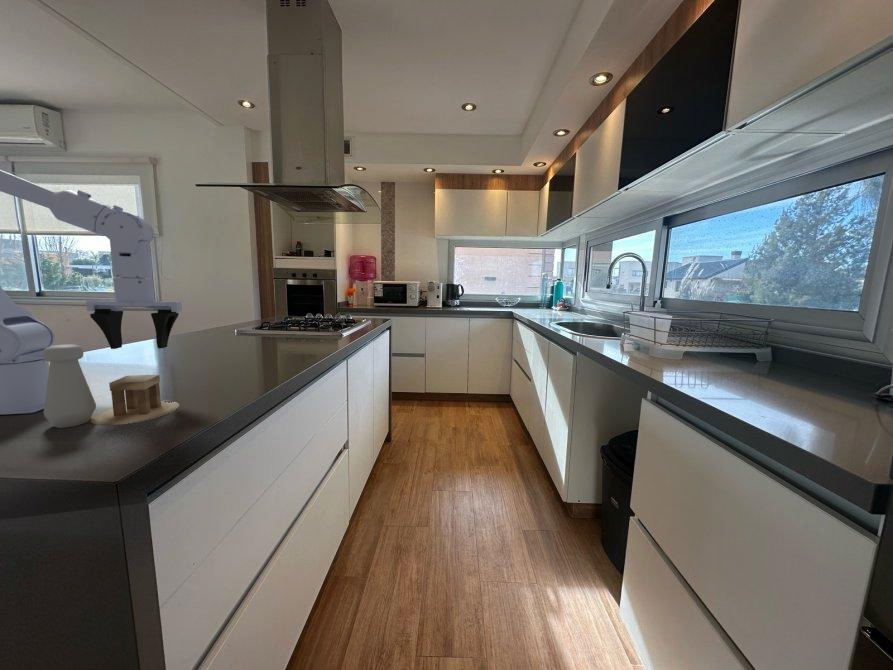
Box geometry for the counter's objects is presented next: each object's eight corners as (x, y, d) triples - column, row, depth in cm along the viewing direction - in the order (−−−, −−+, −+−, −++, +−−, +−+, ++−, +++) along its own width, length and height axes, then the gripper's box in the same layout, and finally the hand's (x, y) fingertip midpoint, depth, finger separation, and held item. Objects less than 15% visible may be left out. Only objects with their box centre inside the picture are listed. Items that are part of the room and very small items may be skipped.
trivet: (70, 429, 55) (70, 426, 55) (118, 404, 67) (118, 402, 67) (159, 423, 58) (159, 421, 58) (190, 400, 70) (190, 398, 70)
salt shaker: (107, 417, 59) (99, 343, 58) (68, 431, 54) (57, 349, 52) (76, 415, 60) (67, 341, 58) (34, 428, 54) (23, 347, 52)
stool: (112, 416, 60) (109, 382, 59) (130, 406, 64) (127, 375, 64) (147, 414, 61) (144, 381, 60) (162, 405, 66) (159, 374, 65)
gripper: (70, 276, 61) (78, 352, 62) (166, 279, 64) (172, 350, 66) (98, 277, 67) (105, 345, 69) (184, 279, 71) (189, 344, 73)
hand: (139, 347), depth 68 cm, fingers open, 7 cm apart
